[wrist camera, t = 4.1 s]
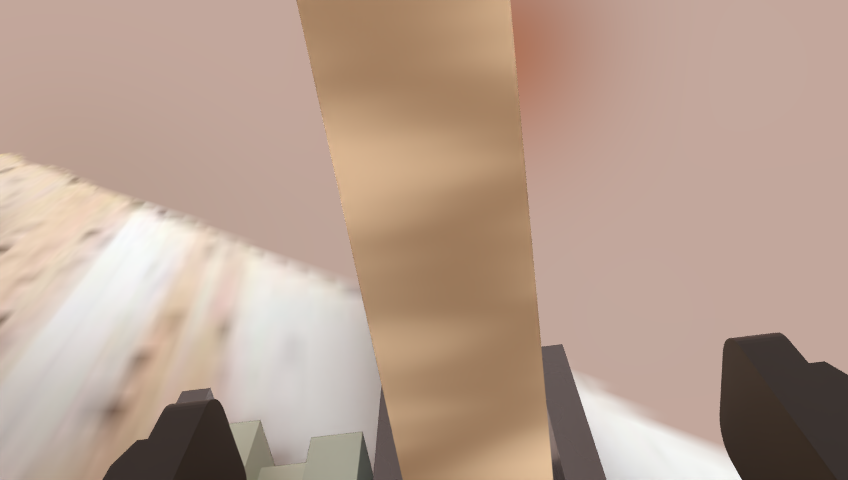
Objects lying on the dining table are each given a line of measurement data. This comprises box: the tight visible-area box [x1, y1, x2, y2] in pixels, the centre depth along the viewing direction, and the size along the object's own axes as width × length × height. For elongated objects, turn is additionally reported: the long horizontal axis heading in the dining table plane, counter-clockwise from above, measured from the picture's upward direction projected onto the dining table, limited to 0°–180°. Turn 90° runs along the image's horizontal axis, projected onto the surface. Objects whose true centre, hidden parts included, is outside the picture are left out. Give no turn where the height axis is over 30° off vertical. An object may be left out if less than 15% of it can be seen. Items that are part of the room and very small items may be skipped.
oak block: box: [297, 0, 553, 480], centre depth 14 cm, size 2×6×20 cm, turn 0°
